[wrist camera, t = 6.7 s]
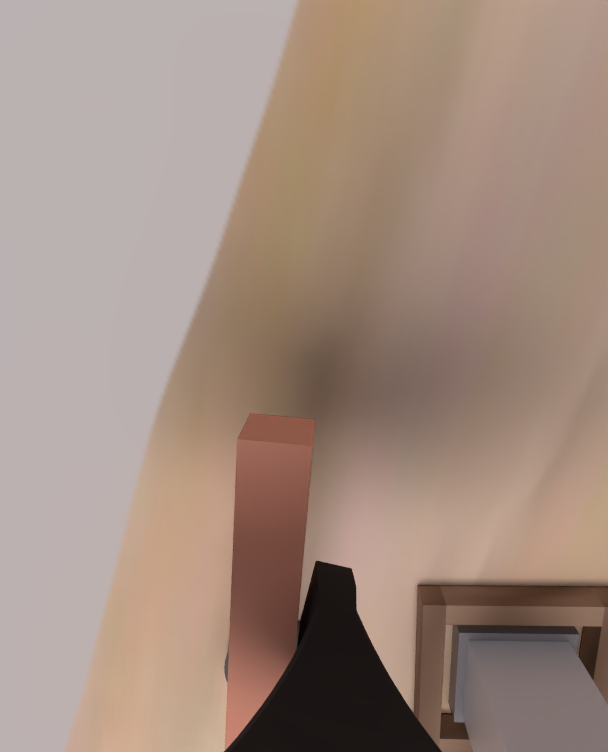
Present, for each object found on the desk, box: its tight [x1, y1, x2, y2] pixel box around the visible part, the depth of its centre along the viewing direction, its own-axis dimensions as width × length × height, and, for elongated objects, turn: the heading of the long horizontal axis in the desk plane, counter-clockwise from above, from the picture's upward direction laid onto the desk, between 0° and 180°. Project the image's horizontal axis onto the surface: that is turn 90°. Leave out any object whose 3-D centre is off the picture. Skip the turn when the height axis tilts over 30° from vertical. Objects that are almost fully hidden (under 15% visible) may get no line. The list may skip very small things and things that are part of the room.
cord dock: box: [225, 586, 608, 752], centre depth 18 cm, size 18×9×7 cm, turn 92°
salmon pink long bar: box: [225, 413, 315, 750], centre depth 13 cm, size 17×3×2 cm, turn 176°
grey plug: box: [449, 625, 608, 752], centre depth 18 cm, size 5×5×7 cm
